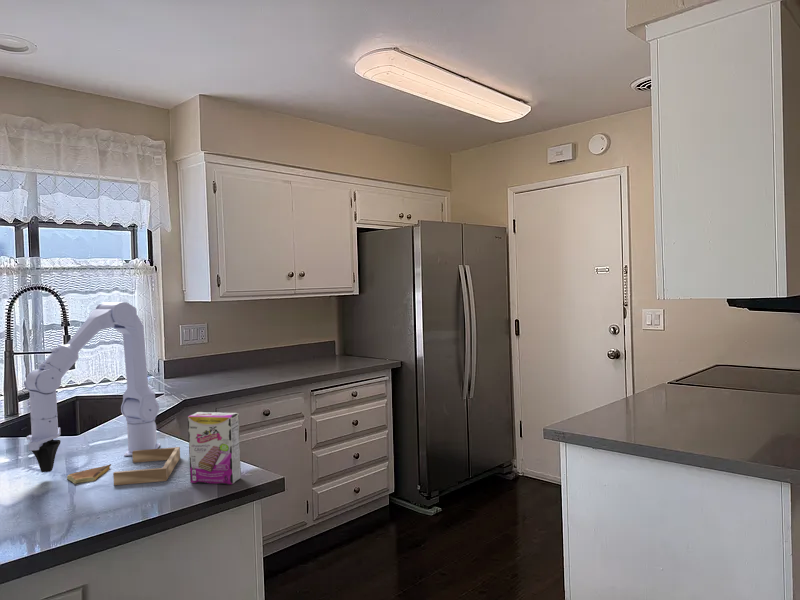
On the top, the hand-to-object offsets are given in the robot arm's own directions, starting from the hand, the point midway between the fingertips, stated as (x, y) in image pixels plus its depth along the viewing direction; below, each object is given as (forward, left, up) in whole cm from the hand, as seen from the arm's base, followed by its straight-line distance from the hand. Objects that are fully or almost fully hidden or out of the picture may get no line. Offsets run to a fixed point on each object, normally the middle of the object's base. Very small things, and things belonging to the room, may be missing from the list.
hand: (46, 471), depth 148 cm
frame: (0, +24, -2) cm, 24 cm away
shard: (0, +9, -3) cm, 9 cm away
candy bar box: (+13, +42, -2) cm, 44 cm away
